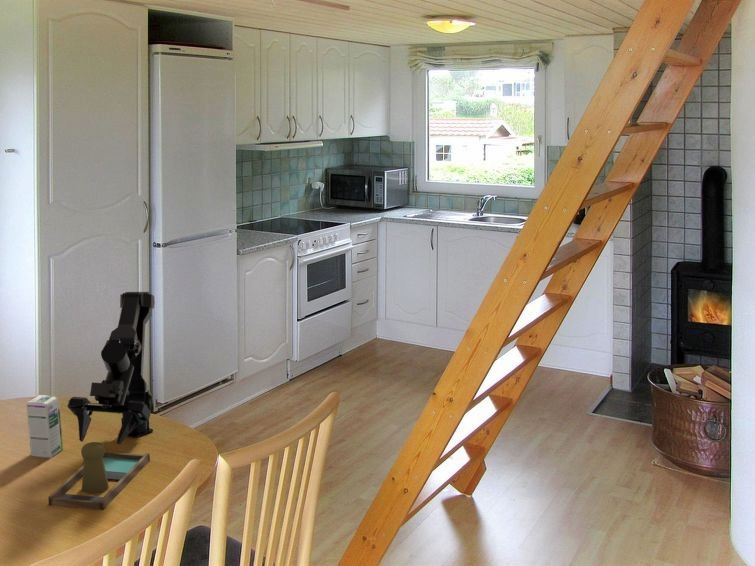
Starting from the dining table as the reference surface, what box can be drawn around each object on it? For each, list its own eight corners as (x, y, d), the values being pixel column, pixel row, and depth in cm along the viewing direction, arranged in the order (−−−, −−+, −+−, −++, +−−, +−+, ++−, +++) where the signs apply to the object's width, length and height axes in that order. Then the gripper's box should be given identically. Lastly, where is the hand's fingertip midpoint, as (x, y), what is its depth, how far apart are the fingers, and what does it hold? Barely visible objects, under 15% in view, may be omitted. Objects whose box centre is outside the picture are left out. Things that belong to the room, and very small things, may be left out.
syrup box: (51, 458, 225) (47, 403, 222) (29, 456, 226) (25, 401, 223) (63, 449, 231) (59, 395, 227) (42, 447, 232) (38, 393, 228)
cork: (97, 480, 213) (94, 436, 211) (114, 487, 210) (111, 443, 208) (76, 489, 209) (73, 445, 206) (93, 496, 205) (90, 451, 203)
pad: (104, 458, 225) (103, 457, 225) (143, 462, 224) (143, 460, 224) (90, 471, 218) (90, 469, 218) (131, 474, 217) (131, 473, 217)
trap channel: (101, 456, 226) (100, 449, 226) (149, 460, 225) (149, 453, 224) (48, 505, 201) (48, 496, 200) (102, 509, 199) (102, 501, 199)
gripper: (68, 364, 213) (48, 425, 205) (143, 369, 211) (126, 431, 202) (85, 385, 222) (66, 444, 214) (157, 390, 220) (141, 450, 212)
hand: (99, 442), depth 210 cm, fingers open, 9 cm apart
